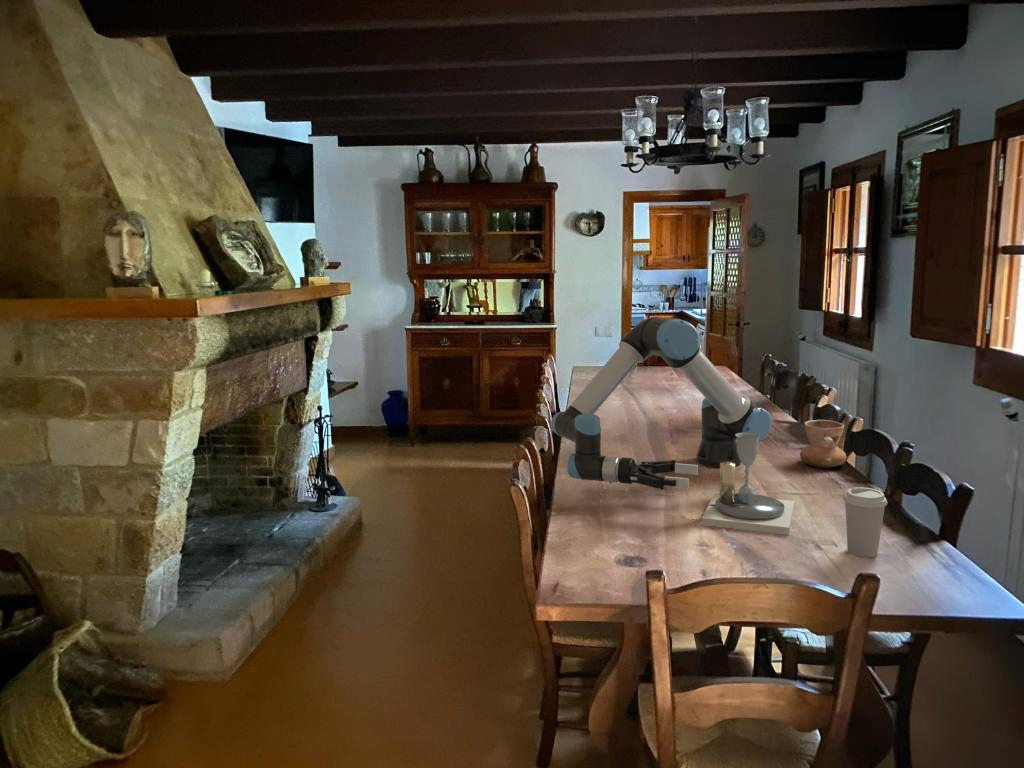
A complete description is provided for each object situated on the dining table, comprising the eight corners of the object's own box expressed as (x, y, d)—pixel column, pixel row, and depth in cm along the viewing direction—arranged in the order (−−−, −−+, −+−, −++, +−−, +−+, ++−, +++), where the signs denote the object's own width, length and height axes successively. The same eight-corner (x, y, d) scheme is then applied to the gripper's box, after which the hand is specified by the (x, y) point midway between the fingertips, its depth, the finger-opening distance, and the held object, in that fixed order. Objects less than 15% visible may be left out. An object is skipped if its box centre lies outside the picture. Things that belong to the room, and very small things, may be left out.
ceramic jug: (850, 472, 243) (853, 429, 241) (803, 471, 246) (804, 428, 244) (840, 457, 260) (841, 417, 258) (795, 456, 264) (797, 417, 261)
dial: (720, 495, 218) (721, 454, 216) (786, 501, 211) (787, 459, 209) (710, 515, 202) (711, 471, 200) (781, 522, 195) (782, 477, 193)
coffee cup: (871, 543, 185) (875, 485, 183) (892, 559, 176) (896, 498, 173) (833, 545, 185) (836, 487, 182) (852, 561, 176) (855, 499, 173)
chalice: (742, 498, 222) (743, 438, 219) (729, 491, 228) (730, 433, 225) (763, 495, 224) (765, 436, 221) (750, 488, 230) (752, 431, 227)
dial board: (714, 499, 221) (714, 492, 221) (794, 507, 213) (794, 499, 212) (701, 525, 202) (701, 517, 201) (788, 535, 193) (789, 526, 192)
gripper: (631, 470, 232) (700, 476, 223) (607, 495, 209) (684, 503, 201) (630, 447, 230) (701, 452, 222) (607, 469, 208) (684, 476, 199)
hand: (693, 476), depth 211 cm, fingers open, 13 cm apart
